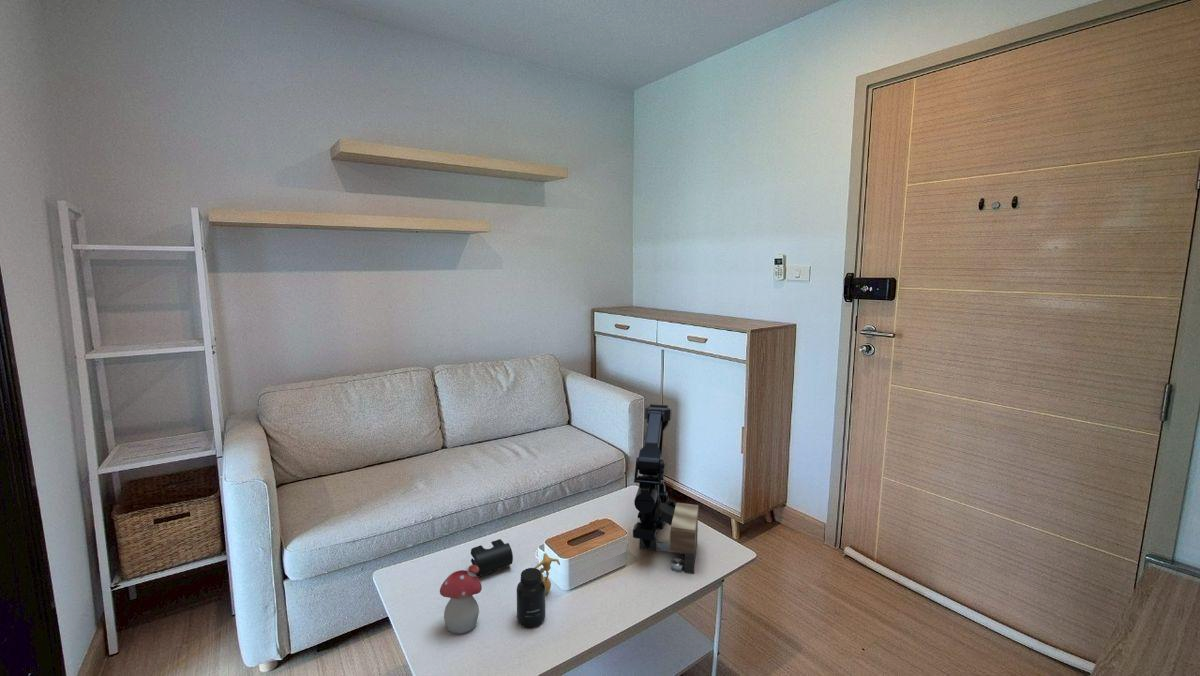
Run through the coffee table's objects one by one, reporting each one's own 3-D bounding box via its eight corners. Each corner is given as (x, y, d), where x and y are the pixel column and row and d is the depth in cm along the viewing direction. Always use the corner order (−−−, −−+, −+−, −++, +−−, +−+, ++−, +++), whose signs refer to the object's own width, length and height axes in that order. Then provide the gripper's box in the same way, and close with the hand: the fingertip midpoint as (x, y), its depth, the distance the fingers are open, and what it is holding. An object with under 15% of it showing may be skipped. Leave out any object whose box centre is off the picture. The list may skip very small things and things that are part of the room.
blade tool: (640, 544, 151) (640, 529, 150) (686, 551, 147) (686, 535, 146) (639, 548, 149) (639, 533, 148) (685, 555, 145) (686, 539, 145)
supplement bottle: (531, 633, 116) (530, 586, 114) (511, 620, 120) (509, 575, 118) (551, 616, 121) (550, 571, 119) (531, 604, 125) (530, 561, 123)
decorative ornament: (486, 616, 121) (483, 560, 119) (477, 637, 115) (475, 577, 112) (448, 615, 122) (445, 558, 119) (438, 635, 115) (434, 576, 113)
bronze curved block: (674, 542, 152) (675, 502, 150) (697, 545, 150) (698, 505, 148) (668, 570, 139) (669, 526, 137) (693, 573, 137) (695, 530, 135)
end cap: (478, 583, 134) (477, 560, 133) (470, 569, 140) (468, 547, 138) (513, 570, 139) (512, 548, 138) (503, 557, 145) (503, 536, 144)
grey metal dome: (671, 564, 142) (672, 557, 141) (684, 565, 141) (684, 559, 141) (670, 571, 138) (670, 565, 138) (683, 573, 137) (683, 567, 137)
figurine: (554, 582, 134) (554, 541, 132) (564, 595, 128) (563, 553, 126) (525, 592, 130) (524, 550, 128) (534, 606, 124) (533, 563, 122)
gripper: (673, 515, 135) (671, 567, 138) (680, 485, 153) (678, 531, 156) (632, 510, 138) (632, 561, 141) (644, 480, 156) (643, 527, 159)
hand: (648, 544), depth 149 cm, fingers closed on blade tool, 2 cm apart
